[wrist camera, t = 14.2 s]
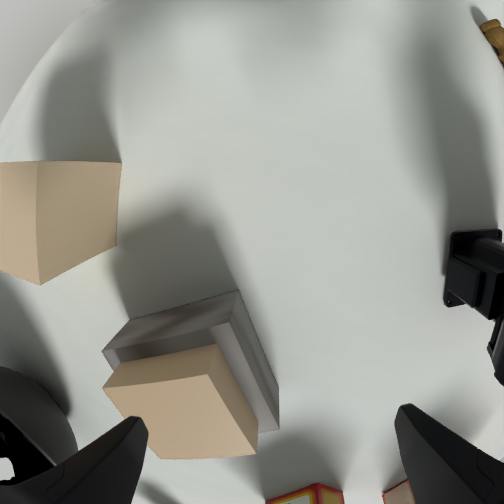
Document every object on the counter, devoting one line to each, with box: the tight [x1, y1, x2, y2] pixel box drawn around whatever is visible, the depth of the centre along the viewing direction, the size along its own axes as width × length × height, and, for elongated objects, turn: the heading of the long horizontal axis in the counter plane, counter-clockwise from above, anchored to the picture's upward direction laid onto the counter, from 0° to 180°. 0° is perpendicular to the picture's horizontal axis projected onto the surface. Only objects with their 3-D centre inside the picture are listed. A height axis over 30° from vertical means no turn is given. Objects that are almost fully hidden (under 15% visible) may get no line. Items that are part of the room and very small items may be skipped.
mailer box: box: [0, 161, 122, 285], centre depth 15 cm, size 6×6×9 cm
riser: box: [102, 289, 279, 433], centre depth 20 cm, size 10×10×5 cm
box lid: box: [102, 344, 259, 459], centre depth 16 cm, size 8×8×3 cm
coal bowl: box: [0, 366, 78, 486], centre depth 18 cm, size 20×20×19 cm
